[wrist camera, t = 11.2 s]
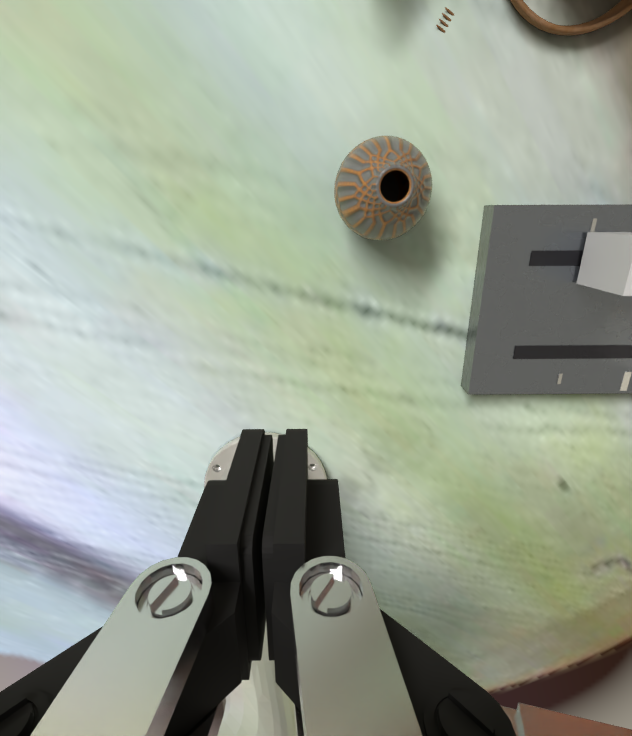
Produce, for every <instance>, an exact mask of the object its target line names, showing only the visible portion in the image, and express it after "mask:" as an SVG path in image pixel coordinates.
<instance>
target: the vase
mask: <svg viewBox="0 0 632 736" xmlns="http://www.w3.org/2000/svg"><path fill="white" fill-rule="evenodd" d="M431 192H432V177H431V172H430V168H429V166H428V163H427V161H426V159H425V157H424V156H423V154H422V153H421V152H420V151H419V150H418V149H417V148H416V147H415V146H414V145H413V144H411V143H410V142H408V141H406V140H404V139H401V138H398V137H394V136H379V137H374V138H371V139H368V140H366V141H364V142H362V143H361V144H359V145H358V146H356V147H355V148H354V149H353V150H352V151H351V152H350V153H349V154H348V155H347V156H346V158H345V159H344V161H343V162H342V164H341V166H340V168H339V171H338V173H337V177H336V181H335V190H334V194H335V202H336V206H337V209H338V212H339V214H340V216H341V218H342V220H343V221H344V222H345V224H346V225H347V226H348V227H349V228H350V229H351V230H352V231H354V232H355V233H356V234H358V235H360V236H362V237H365V238H368V239H372V240H389V239H393V238H396V237H398V236H401V235H403V234H404V233H406V232H408V231H409V230H410V229H411V228H413V227H414V226H415V225H416V224H417V223H418V222H419V220H420V219H421V218H422V216H423V214H424V213H425V211H426V209H427V207H428V204H429V201H430V197H431Z"/></svg>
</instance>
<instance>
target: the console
mask: <svg viewBox="0 0 632 736" xmlns="http://www.w3.org/2000/svg"><path fill="white" fill-rule="evenodd" d="M588 232H632V205H489V206H484V212H483V220H482V228H481V235H480V243H479V251H478V258H477V266H476V274H475V281H474V289H473V297H472V305H471V312H470V320H469V328H468V335H467V343H466V351H465V359H464V366H463V374H462V382H461V386H462V387H463V389H464V390H465V391H466V392H467V393H468V394H591V393H632V296H621V295H617V294H614V293H610V292H606V291H602V290H599V289H595V288H591V287H587V286H584V285H580V284H576V283H577V279H578V274H579V270H580V265H581V260H582V256H583V251H584V246H585V242H586V237H587V233H588Z"/></svg>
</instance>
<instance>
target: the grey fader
mask: <svg viewBox="0 0 632 736" xmlns="http://www.w3.org/2000/svg"><path fill="white" fill-rule="evenodd" d="M576 284H580V285H584V286H587V287H591V288H595V289H599V290H602V291H606V292H610V293H614V294H617V295H621V296H632V232H588V233H587V237H586V242H585V246H584V251H583V256H582V260H581V265H580V270H579V274H578V279H577V283H576Z"/></svg>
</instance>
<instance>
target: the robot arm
mask: <svg viewBox="0 0 632 736" xmlns="http://www.w3.org/2000/svg"><path fill="white" fill-rule="evenodd" d="M0 736H632V730H631V729H627V728H623V727H618V726H614V725H610V724H605V723H602V722H597V721H593V720H589V719H585V718H581V717H576V716H572V715H568V714H563V713H560V712H555V711H551V710H547V709H543V708H539V707H534V706H530V705H526V704H522V703H518V707H517V710H516V709H512V708H507V707H503V706H500V704H499V703H498V702H497V701H496V700H495V699H494V698H493V697H492V696H491V695H490V694H489V693H488V692H487V691H486V690H484V689H483V688H482V687H480V686H479V685H478V684H477V683H475V682H474V681H473V680H471V679H470V678H469V677H467V676H466V675H465V674H464V673H462V672H461V671H460V670H458V669H457V668H456V667H455V666H453V665H452V664H451V663H449V662H448V661H447V660H445V659H444V658H443V657H442V656H440V655H439V654H438V653H436V652H435V651H434V650H432V649H431V648H430V647H429V646H427V645H426V644H425V643H423V642H422V641H421V640H420V639H418V638H417V637H416V636H414V635H413V634H412V633H410V632H409V631H408V630H407V629H405V628H404V627H403V626H401V625H400V624H399V623H398V622H396V621H395V620H394V619H392V618H391V617H390V616H388V615H387V614H386V613H385V612H383V611H382V610H381V609H380V608H379V605H378V602H377V599H376V596H375V593H374V590H373V588H372V585H371V582H370V580H369V578H368V576H367V574H366V572H365V571H364V570H363V569H362V568H361V567H359V566H358V565H357V564H356V563H354V562H352V561H350V560H348V559H346V558H345V551H344V540H343V529H342V519H341V508H340V498H339V487H338V480H337V479H327V477H326V473H325V469H324V467H323V465H322V463H321V461H320V460H319V458H318V457H317V456H316V454H315V453H314V452H313V451H312V450H311V449H309V448H308V434H307V429H287V430H286V435H282V434H277V433H270V432H265V431H264V429H243V430H242V433H241V436H240V437H237V438H236V439H234V440H232V441H230V442H228V443H227V444H226V445H224V446H223V447H222V448H221V449H219V451H218V452H217V453H216V454H215V456H214V457H213V458H212V460H211V462H210V464H209V466H208V469H207V472H206V475H205V481H204V491H203V494H202V496H201V499H200V501H199V504H198V506H197V509H196V511H195V514H194V517H193V519H192V522H191V524H190V527H189V529H188V532H187V534H186V537H185V539H184V542H183V545H182V547H181V550H180V552H179V555H178V557H175V558H171V559H167V560H163V561H161V562H159V563H156V564H154V565H152V566H150V567H149V568H148V569H146V570H145V571H144V572H142V573H141V574H140V575H139V576H138V577H137V578H136V579H135V581H134V582H133V583H132V584H131V585H130V587H129V588H128V590H127V591H126V593H125V594H124V596H123V597H122V599H121V600H120V602H119V603H118V605H117V606H116V608H115V609H114V611H113V612H112V614H111V615H110V617H109V618H108V620H107V621H106V623H105V624H104V626H103V627H101V628H99V629H98V630H96V631H95V632H93V633H92V634H90V635H89V636H87V637H85V638H84V639H82V640H81V641H79V642H78V643H76V644H75V645H73V646H71V647H70V648H68V649H67V650H65V651H64V652H62V653H60V654H59V655H57V656H56V657H54V658H53V659H51V660H50V661H48V662H46V663H45V664H43V665H42V666H40V667H39V668H37V669H36V670H34V671H32V672H31V673H29V674H28V675H26V676H25V677H23V678H22V679H20V680H18V681H17V682H15V683H14V684H12V685H11V686H9V687H7V688H6V689H5V690H3V691H1V692H0Z"/></svg>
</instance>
